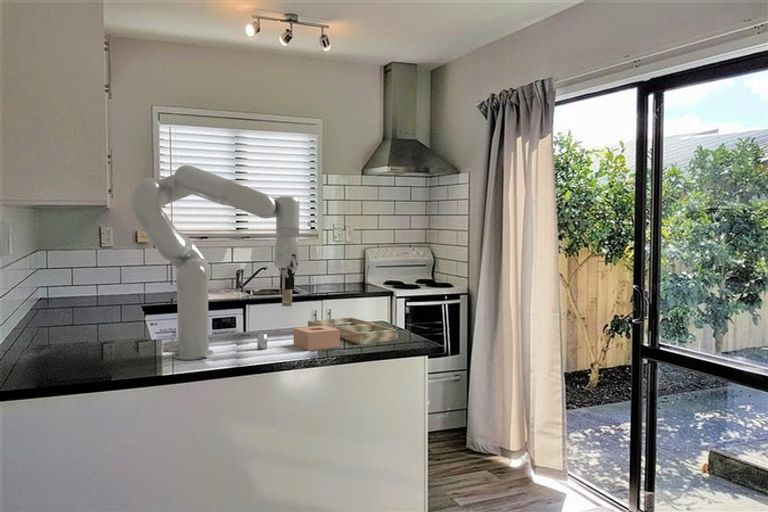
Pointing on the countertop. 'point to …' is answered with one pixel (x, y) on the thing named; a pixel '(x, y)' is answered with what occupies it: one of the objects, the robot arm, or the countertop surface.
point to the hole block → (316, 337)
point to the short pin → (261, 341)
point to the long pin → (286, 292)
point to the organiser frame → (359, 330)
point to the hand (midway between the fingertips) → (287, 288)
